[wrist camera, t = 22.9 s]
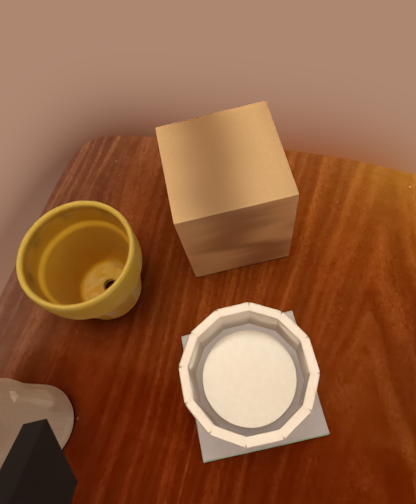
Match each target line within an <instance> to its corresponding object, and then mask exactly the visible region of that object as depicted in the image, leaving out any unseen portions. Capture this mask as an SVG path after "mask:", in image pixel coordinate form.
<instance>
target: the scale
mask: <svg viewBox="0 0 416 504" xmlns="http://www.w3.org/2000/svg"><path fill="white" fill-rule="evenodd" d="M284 313H285V314H286V315H287V316H288V317H289V318H290V319H291V320H292V321H293V322H294V323H295V324H296V322H295V318H294V315H293V312H292V311H288V312H284ZM240 330H257V331H261V332H264V333H267V334H269V335H271V336H273V337H274V338H276V339H277V340H278V341H279V342H281V343H282V344H283V345H284V346H285V348H286V349H287V350H288V352H289V353H290V355H291V357H292V359H293V361H294V364H295V367H296V371H297V390H296V394H295V397H294V400H293V402H292V404H291V406H290V408H289V409H288V410H287V412H286V413H285V414H284V415H283V416H282V417H281V418H280V419H278V420H277V421H275V422H274V423H272V424H270V425H268V426H265V427H262V428H256V429H247V428H241V427H237V426H234V425H232V424H230V423H228V422H226V421H225V420H223V419H222V418H221V417H220V416H218V415H217V414H216V413H215V411H214V410H213V409H212V407H211V406H210V405H209V403H208V401H207V399H206V396H205V394H204V390H203V384H202V371H203V366H204V362H205V359H206V357H207V355H208V353H209V351H210V350H211V349H212V347H213V346H214V345H215V344H216V343H217V342H218V341H219V340H220V339H221V338H223V337H225V336H226V335H228V334H230V333H233V332H236V331H240ZM188 337H189V335H185V336H182V337H181V339H182V345H183V350H184V349H185V346H186V343H187V340H188ZM196 378H197V383H198V389H199V394H200V400H201V403H202V404H203V406H204V407H205V408H206V409H207V410H208V412H209V413H210V414H211V415H212V417H213V418H214V419H215V420H216V421H217V423H218V424H219V425H220V426H222V427H225V428H228V429H231V430H233V431H236V432H239V433H242V434H244V435H247V436H249V435H254V434H258V433H262V432H267V431H271V430H276V429H278V427H279V426H280V425H281V424H282V423H283V422H284V421H285V420H286V419H287V418H288V417H289V416H290V415H291V414H292V413H293V412H294V411H295V410H296V409H297V408H298V403H299V399H300V395H301V390H302V386H303V382H304V377H303V374H302V371H301V367H300V364H299V360H298V357H297V354H296V351H295V350H294V349H293V348H292V347H291V346H290V345H289V344H288V343H287V342H286V341H285V340H284V339H283V338H282V337H281V336H280V335H279V334H278V333H277V332H276V331H274V330H271V329H267V328H264V327H261V326H257V325H254V324H250V323H249V324H245V325H241V326H236V327H232V328H228V329H224V330H223V331H222V332H221V333H220V334H219V335H217V336H216V337H215V338H214V339H213V340H212V341H211V342H210V343H209V344H208V345H207V346H206V347H204V350H203V353H202V356H201V360H200V363H199V366H198V369H197V372H196ZM196 424H197V430H198V435H199V441H200V447H201V453H202V458H203V463H205V462H210V461H214V460H219V459H223V458H227V457H232V456H236V455H241V454H245V453H250V452H254V451H259V450H263V449H268V448H272V447H276V446H281V445H285V444H290V443H294V442H299V441H303V440H308V439H312V438H317V437H321V436H325V435H329V434H330V433H329V430H328V426H327V423H326V420H325V417H324V413H323V410H322V407H321V403H320V400H319V397H318V394H317V392H316V396H315V401H314V405H313V410H312V411H311V413H310V414H309V416H308V417H307V418H306V419H305V420H304V421H303V422H302V423H301V424H300V425H299V426H298V427H297V428H296V429H295V430H294V431H293V432H292V433H291V434H290V435H289V436H288V437H287V438H286V439H284V440H283V441H279V442H274V443H270V444H265V445H261V446H256V447H252V448H247V447H246V448H243V447H240V446H237V445H235V444H232V443H229V442H226V441H224V440H221V439H218V438H216V437H213V436H210V434H208V433H207V432H206V431H205V429H204V428H203V427H202V426H201V424H200V423H199V422H198V421H197V419H196Z"/></svg>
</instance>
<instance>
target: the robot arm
mask: <svg viewBox="0 0 416 504" xmlns="http://www.w3.org/2000/svg"><path fill="white" fill-rule="evenodd" d="M76 484H77V480H76V478H75V475H74V473H73V471H72V469H71V467H70V465H69V463H68V461H67V459H66V457H65V455H64V453H63V451H62V449H61V447H60V445H59V443H58V441H57V438H56V436H55V434H54V432H53V430H52V428H51V426H50V424H49V422H48V420H47V419H43V420H38V421H34V422H30V423H26V424H23V425H22V427H21V429H20V431H19V433H18V435H17V437H16V439H15V441H14V443H13V445H12V447H11V449H10V451H9V453H8V455H7V457H6V459H5V461H4V463H3V465H2V467H1V469H0V504H71V502H72V499H73V495H74V492H75V488H76Z"/></svg>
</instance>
